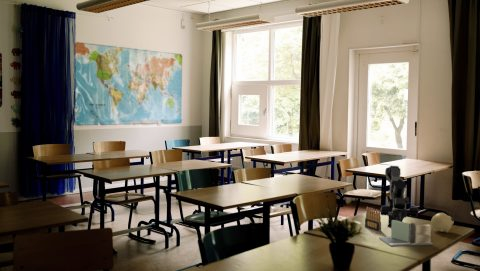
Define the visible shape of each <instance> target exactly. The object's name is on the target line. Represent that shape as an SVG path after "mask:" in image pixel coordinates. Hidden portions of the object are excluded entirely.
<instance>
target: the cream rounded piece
mask: <svg viewBox="0 0 480 271" xmlns="http://www.w3.org/2000/svg"><path fill="white" fill-rule="evenodd" d="M430 220H431V221H430V222H431V223H430V225H431V230H435V231H438V232H445V233H449V230H450V229H451V228H452V225H454V222H455V218H454V217H451V216H450V215H448V214H446V213H444V212H438V213H436V214H434V215H433V216H432V218H431V219H430Z"/></svg>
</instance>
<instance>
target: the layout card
mask: <svg viewBox="0 0 480 271" xmlns="http://www.w3.org/2000/svg"><path fill="white" fill-rule="evenodd" d="M378 239H379V240H381V241H382V242H383V243H385V244H386V245H388V246H389V247H406V246H407V247H408V246H412V247H413V246H429V245H431V246H432V245H434V243H432V242H431V241H430V243H415V244H411V243H410V241H409V242H407V241H404V240H400V239H396V238H392V237H391V236H383V237H378Z"/></svg>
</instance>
